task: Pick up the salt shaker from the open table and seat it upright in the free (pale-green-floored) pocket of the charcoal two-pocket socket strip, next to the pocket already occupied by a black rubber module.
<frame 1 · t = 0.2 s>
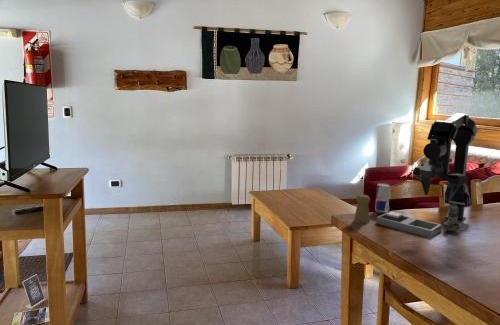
hand: (437, 198, 150), 14 cm above the table, fingers open, 9 cm apart
olive pepper mill: (361, 222, 166), on the table
energy drink: (381, 212, 180), on the table
socket strip: (407, 227, 160), on the table
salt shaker: (451, 233, 155), on the table
plugged module: (393, 223, 164), resting on socket strip
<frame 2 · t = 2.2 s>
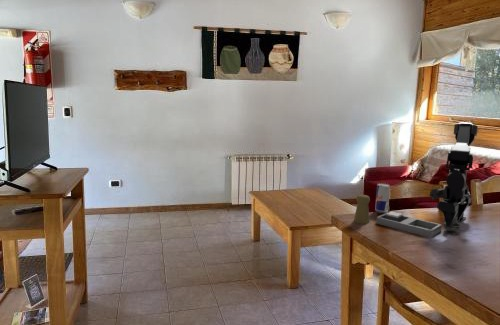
hand: (452, 224, 154), 4 cm above the table, fingers closed on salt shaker, 8 cm apart
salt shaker: (451, 233, 155), on the table, touching gripper
everything else where it was.
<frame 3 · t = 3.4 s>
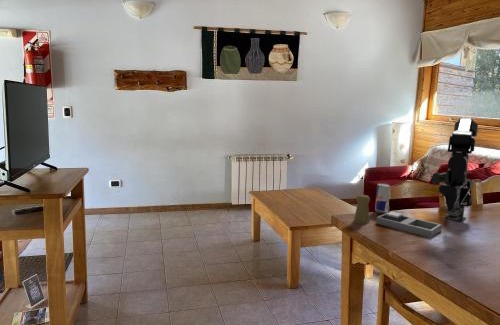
hand: (453, 208, 153), 10 cm above the table, fingers closed on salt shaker, 8 cm apart
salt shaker: (452, 218, 153), point 6 cm above the table, touching gripper
everything else where it was.
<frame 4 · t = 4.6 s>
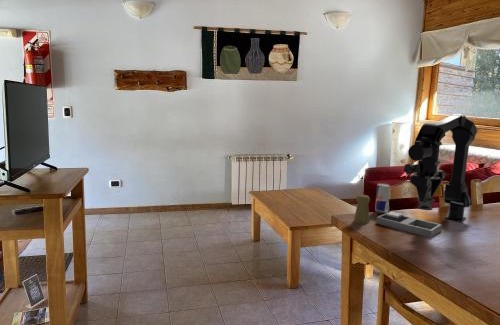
hand: (425, 199, 154), 13 cm above the table, fingers closed on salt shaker, 8 cm apart
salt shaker: (424, 208, 154), point 9 cm above the table, touching gripper
everything else where it was.
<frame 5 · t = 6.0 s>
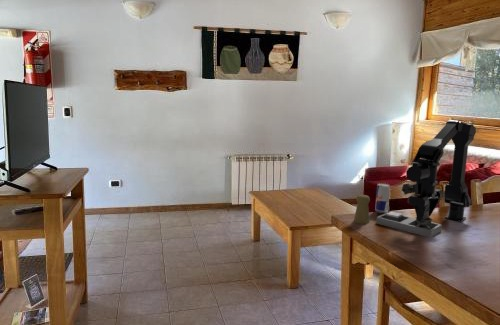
hand: (423, 218, 155), 5 cm above the table, fingers closed on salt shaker, 8 cm apart
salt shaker: (422, 228, 156), point 1 cm above the table, touching gripper
everything else where it was.
when the fingers open (5 cm above the table, at t = 6.9 s): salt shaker drops 1 cm, resting on socket strip.
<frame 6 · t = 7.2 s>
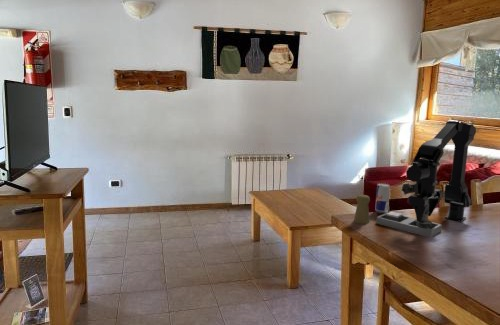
hand: (423, 218, 155), 5 cm above the table, fingers open, 9 cm apart
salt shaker: (422, 230, 156), resting on socket strip
everything else where it was.
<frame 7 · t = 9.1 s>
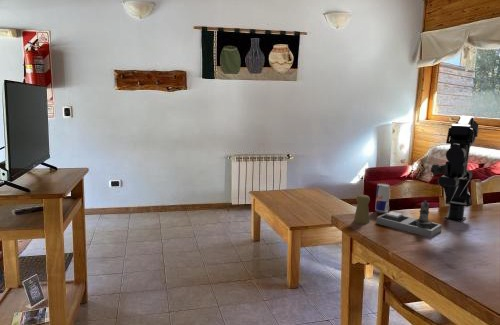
hand: (453, 199, 154), 12 cm above the table, fingers open, 9 cm apart
nothing on the table moved.
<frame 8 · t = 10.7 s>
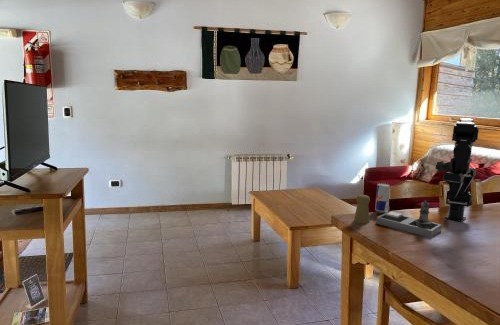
hand: (457, 196, 157), 13 cm above the table, fingers open, 9 cm apart
nothing on the table moved.
at the end: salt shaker 0.1 cm from the target spot on the socket strip, point 0.1 cm above the socket strip's base; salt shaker tilted 0°; the gripper is holding nothing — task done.
